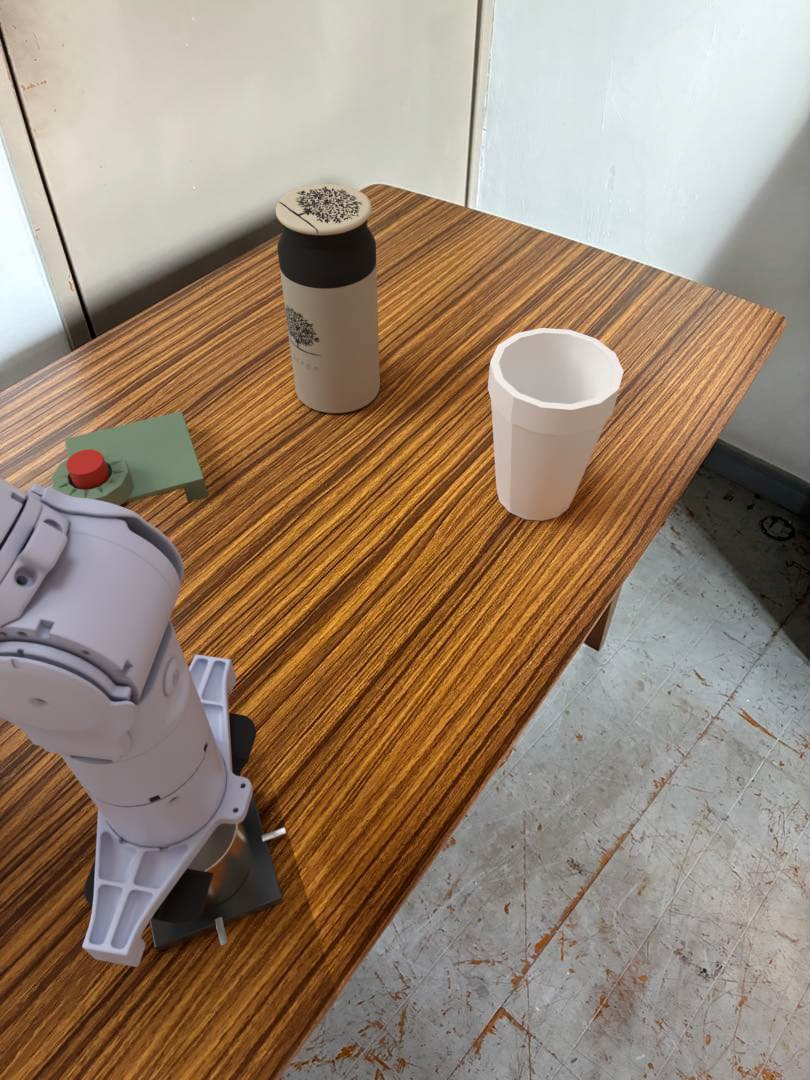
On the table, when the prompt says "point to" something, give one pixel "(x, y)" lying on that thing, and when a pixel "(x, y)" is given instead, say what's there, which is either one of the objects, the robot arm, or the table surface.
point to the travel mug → (330, 296)
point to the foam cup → (548, 416)
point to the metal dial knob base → (247, 900)
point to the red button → (87, 469)
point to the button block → (138, 461)
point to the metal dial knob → (224, 861)
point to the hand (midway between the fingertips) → (202, 855)
